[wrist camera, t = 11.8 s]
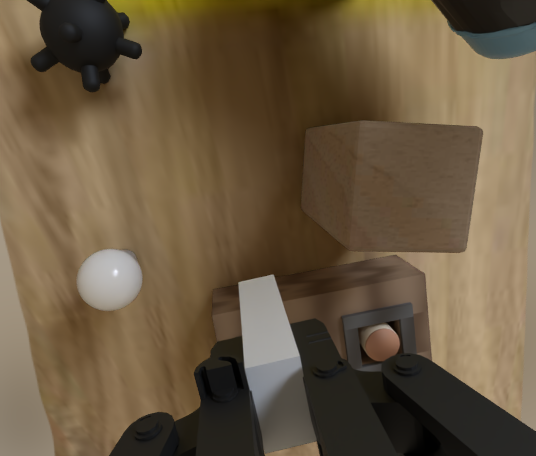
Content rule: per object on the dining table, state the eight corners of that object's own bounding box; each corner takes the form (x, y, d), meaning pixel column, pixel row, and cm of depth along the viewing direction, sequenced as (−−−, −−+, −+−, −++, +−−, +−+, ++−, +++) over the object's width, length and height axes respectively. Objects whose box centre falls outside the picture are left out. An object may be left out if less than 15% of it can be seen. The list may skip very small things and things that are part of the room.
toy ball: (150, -36, 42) (169, 80, 42) (99, 15, 49) (115, 115, 48) (37, -88, 34) (59, 56, 33) (-4, -18, 41) (13, 102, 40)
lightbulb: (111, 224, 50) (82, 247, 39) (162, 246, 51) (146, 274, 40) (91, 271, 51) (56, 306, 40) (141, 291, 52) (120, 330, 41)
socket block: (232, 387, 56) (234, 430, 47) (212, 289, 53) (211, 317, 44) (404, 351, 58) (436, 387, 49) (395, 254, 55) (427, 275, 46)
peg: (350, 296, 54) (374, 324, 46) (377, 305, 55) (405, 334, 47) (338, 323, 55) (360, 356, 47) (366, 332, 56) (391, 365, 48)
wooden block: (377, 212, 53) (468, 254, 34) (299, 210, 52) (347, 252, 32) (385, 131, 51) (486, 126, 32) (304, 127, 50) (358, 119, 30)
